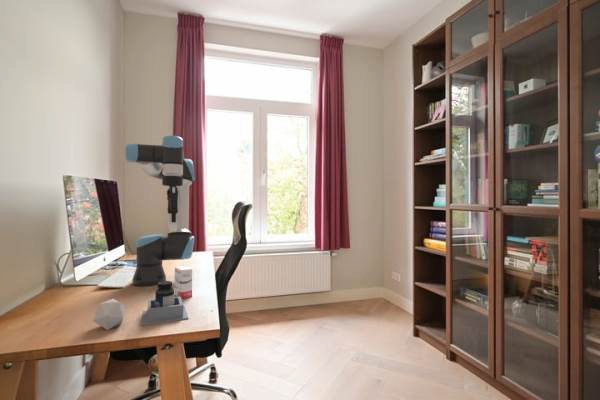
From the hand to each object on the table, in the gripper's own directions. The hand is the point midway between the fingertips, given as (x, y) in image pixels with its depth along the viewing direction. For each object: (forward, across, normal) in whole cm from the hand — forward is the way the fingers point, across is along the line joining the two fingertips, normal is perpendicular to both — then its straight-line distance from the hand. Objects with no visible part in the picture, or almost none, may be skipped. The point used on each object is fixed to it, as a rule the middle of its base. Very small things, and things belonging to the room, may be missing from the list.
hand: (172, 229), depth 125 cm
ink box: (+29, -9, +5) cm, 31 cm away
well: (+29, +14, -3) cm, 32 cm away
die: (+29, +17, -19) cm, 39 cm away
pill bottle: (+28, +14, -3) cm, 32 cm away
